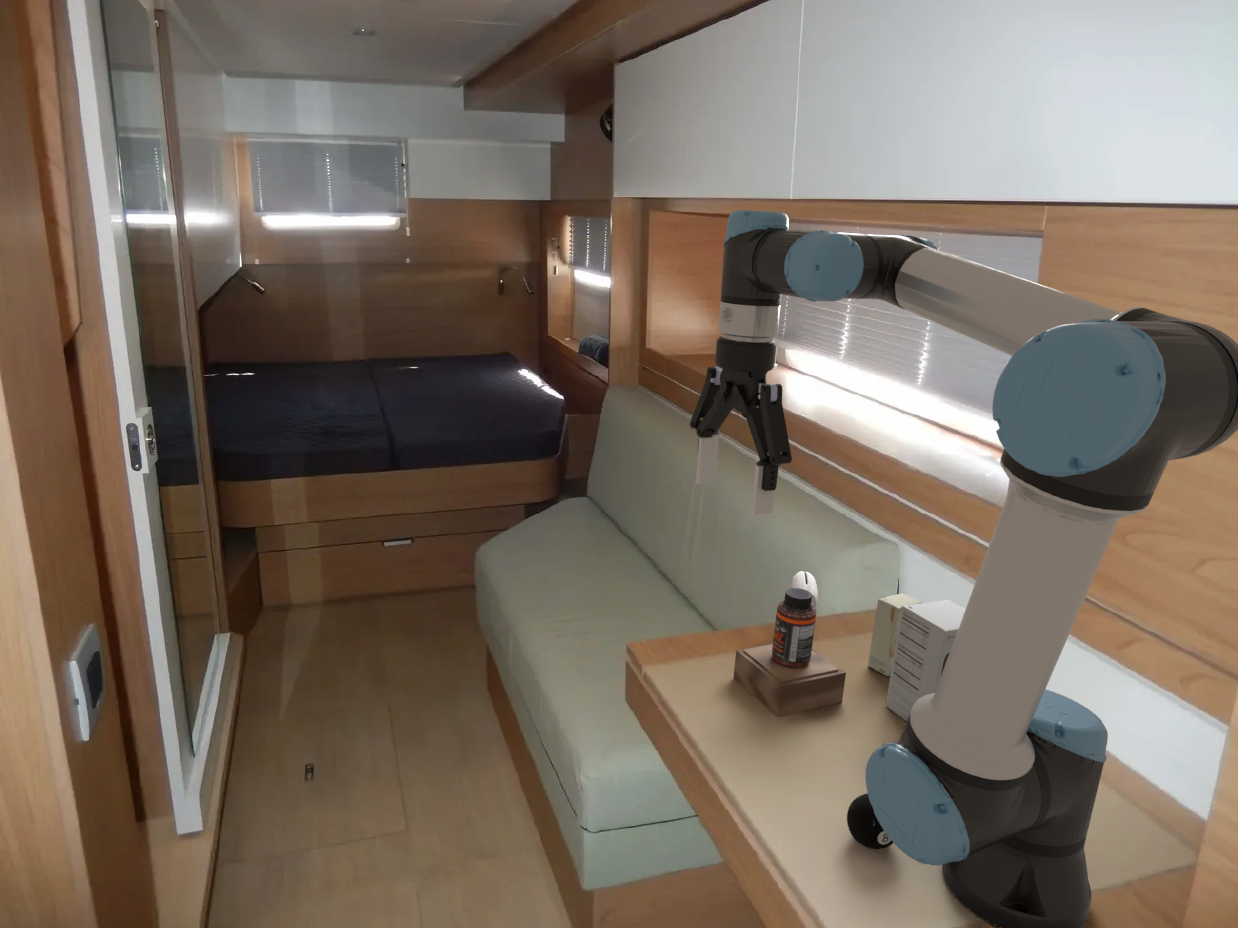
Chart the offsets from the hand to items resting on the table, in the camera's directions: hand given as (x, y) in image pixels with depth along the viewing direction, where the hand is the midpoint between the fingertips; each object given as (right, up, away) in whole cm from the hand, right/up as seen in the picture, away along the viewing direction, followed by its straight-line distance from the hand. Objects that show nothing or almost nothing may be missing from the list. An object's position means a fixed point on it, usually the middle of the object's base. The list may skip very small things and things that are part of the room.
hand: (731, 497), depth 118 cm
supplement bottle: (+11, -26, +19) cm, 34 cm away
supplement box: (+32, -34, +16) cm, 49 cm away
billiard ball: (+15, -41, -13) cm, 45 cm away
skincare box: (+30, -30, +30) cm, 52 cm away
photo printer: (+16, -27, +37) cm, 49 cm away
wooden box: (+11, -31, +21) cm, 39 cm away
